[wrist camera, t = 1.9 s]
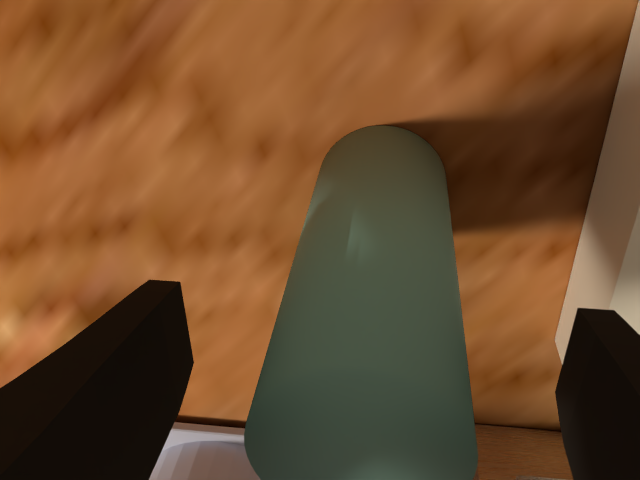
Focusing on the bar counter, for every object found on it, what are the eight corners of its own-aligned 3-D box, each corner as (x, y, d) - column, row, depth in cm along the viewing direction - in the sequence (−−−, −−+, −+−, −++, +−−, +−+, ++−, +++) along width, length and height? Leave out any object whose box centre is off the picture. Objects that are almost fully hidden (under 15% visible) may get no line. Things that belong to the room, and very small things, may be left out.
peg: (440, 243, 17) (464, 537, 10) (319, 236, 18) (252, 513, 10) (452, 127, 16) (493, 378, 8) (317, 123, 16) (233, 358, 8)
